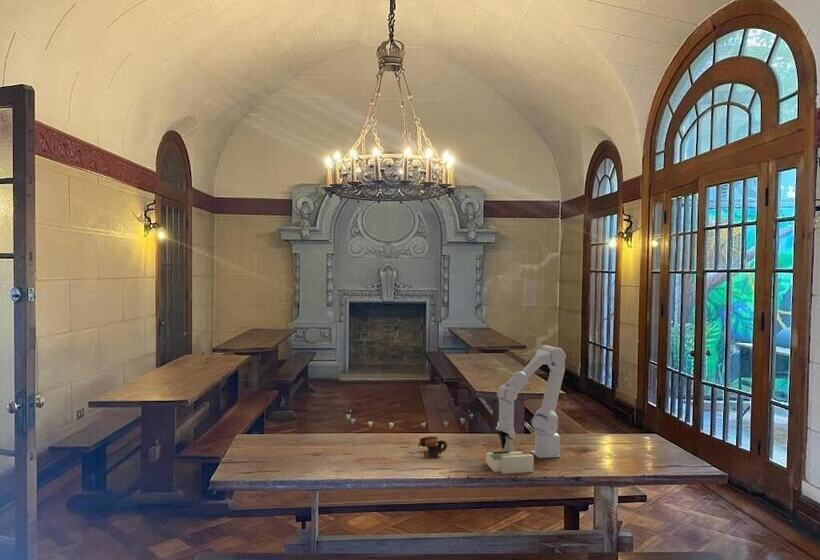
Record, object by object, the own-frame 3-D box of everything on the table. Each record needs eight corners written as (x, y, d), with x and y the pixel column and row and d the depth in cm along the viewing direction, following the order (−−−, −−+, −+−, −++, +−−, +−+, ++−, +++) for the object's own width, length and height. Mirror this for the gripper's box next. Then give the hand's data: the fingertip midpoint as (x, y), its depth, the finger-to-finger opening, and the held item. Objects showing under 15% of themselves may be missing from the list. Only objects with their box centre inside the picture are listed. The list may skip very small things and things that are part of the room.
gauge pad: (520, 464, 223) (521, 449, 222) (522, 465, 221) (522, 451, 221) (492, 466, 220) (492, 451, 220) (493, 467, 219) (493, 452, 219)
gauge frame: (521, 461, 227) (521, 445, 227) (533, 471, 216) (533, 455, 216) (485, 463, 224) (486, 447, 224) (496, 474, 213) (496, 458, 213)
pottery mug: (417, 459, 229) (414, 438, 233) (423, 462, 237) (421, 442, 241) (446, 454, 226) (443, 432, 230) (452, 457, 234) (449, 437, 238)
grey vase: (517, 466, 221) (519, 442, 219) (498, 464, 222) (500, 440, 220) (516, 457, 228) (518, 433, 226) (498, 455, 229) (499, 432, 227)
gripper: (490, 411, 233) (489, 445, 234) (503, 421, 219) (502, 457, 219) (507, 411, 235) (506, 444, 235) (520, 421, 220) (519, 456, 221)
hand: (505, 450), depth 227 cm, fingers closed
